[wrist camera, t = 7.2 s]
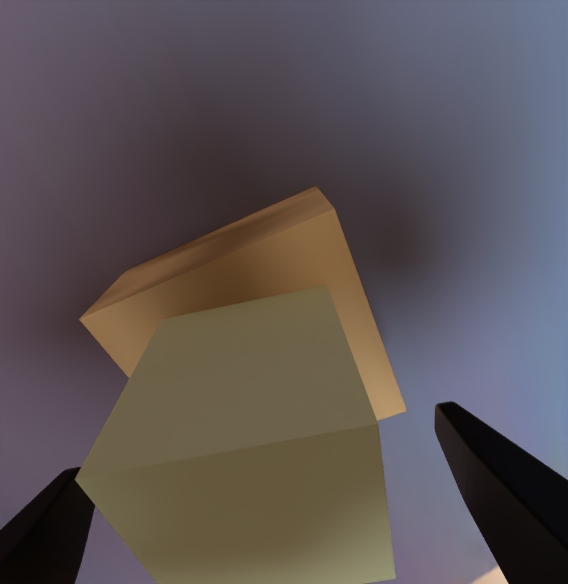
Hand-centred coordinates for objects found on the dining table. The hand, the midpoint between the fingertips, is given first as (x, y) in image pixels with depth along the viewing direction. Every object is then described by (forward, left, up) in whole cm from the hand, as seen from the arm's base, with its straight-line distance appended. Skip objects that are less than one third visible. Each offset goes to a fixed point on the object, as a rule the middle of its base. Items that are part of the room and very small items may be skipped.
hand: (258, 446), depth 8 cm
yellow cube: (0, 0, -3) cm, 3 cm away
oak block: (0, 0, -7) cm, 7 cm away
